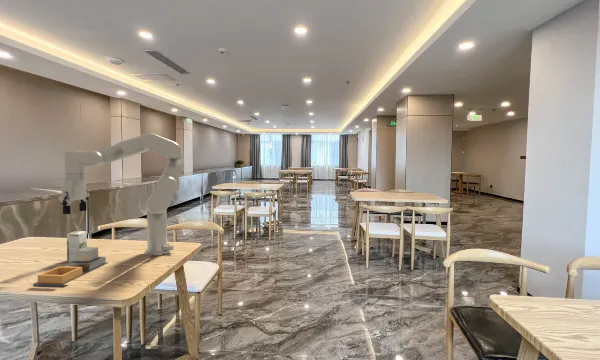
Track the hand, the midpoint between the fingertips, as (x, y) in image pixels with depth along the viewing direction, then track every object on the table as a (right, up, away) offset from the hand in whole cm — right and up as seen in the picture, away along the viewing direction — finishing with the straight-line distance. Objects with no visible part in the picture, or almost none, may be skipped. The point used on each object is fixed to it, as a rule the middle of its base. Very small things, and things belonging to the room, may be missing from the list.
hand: (75, 212), depth 143 cm
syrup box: (0, -24, +2) cm, 24 cm away
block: (+12, -24, -8) cm, 27 cm away
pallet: (+11, -25, -15) cm, 31 cm away
